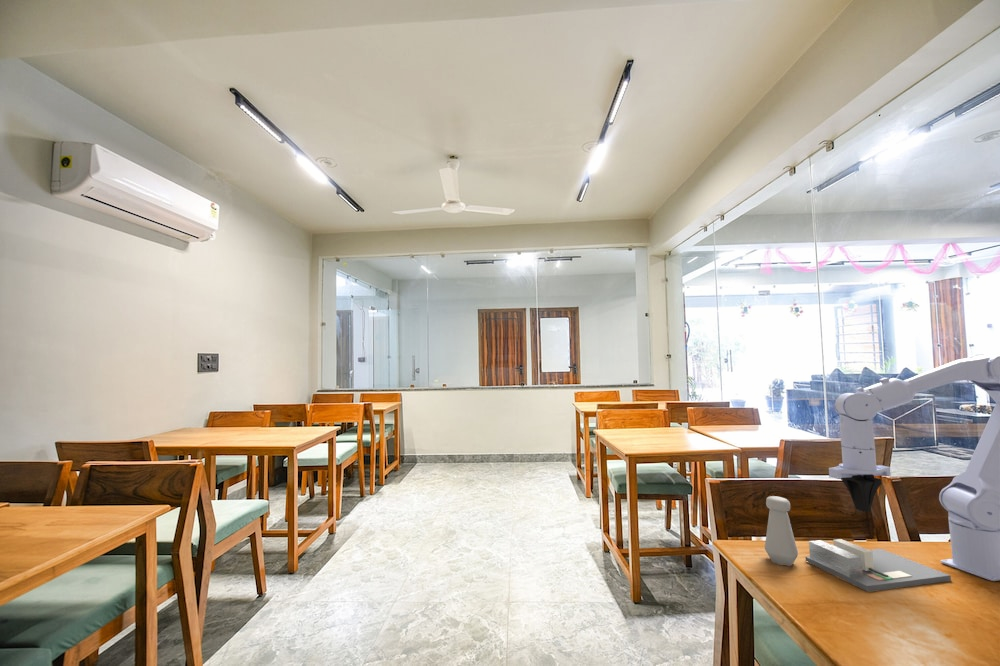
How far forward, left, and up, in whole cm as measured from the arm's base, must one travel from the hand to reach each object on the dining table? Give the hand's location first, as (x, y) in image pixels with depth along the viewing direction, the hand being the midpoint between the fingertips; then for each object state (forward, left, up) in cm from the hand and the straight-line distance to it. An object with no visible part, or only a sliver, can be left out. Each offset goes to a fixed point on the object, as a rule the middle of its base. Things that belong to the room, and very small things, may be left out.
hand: (862, 510), depth 89 cm
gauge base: (+6, +6, -9) cm, 13 cm away
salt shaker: (+21, -1, -10) cm, 23 cm away
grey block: (+15, +5, -9) cm, 18 cm away
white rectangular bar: (+10, +7, -8) cm, 14 cm away
